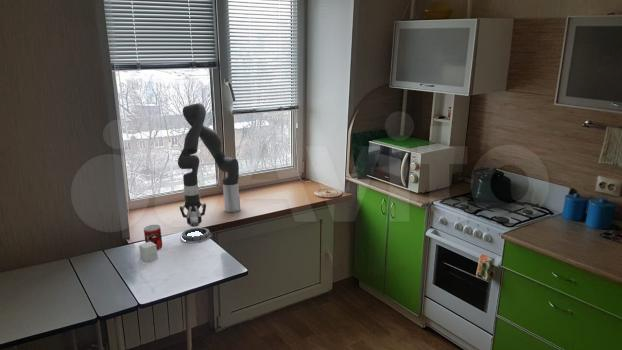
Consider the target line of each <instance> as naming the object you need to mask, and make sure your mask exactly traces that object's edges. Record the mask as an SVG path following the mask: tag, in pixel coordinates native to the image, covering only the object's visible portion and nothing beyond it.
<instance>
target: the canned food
mask: <svg viewBox="0 0 622 350" xmlns="http://www.w3.org/2000/svg"><path fill="white" fill-rule="evenodd" d="M143 233H144V243H147V242H150V241H151V242H152V243H154V244H156V247H157V251H158V250H160V249H161V248H163V238H162V231H161V225H159V224H150V225H146V226H145V227H143Z"/></svg>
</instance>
